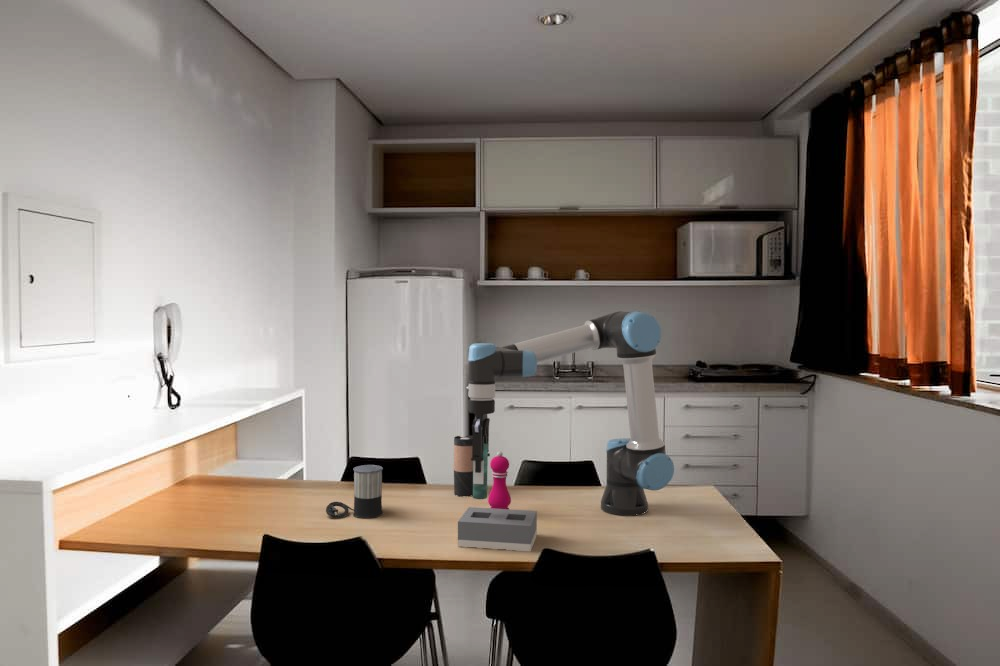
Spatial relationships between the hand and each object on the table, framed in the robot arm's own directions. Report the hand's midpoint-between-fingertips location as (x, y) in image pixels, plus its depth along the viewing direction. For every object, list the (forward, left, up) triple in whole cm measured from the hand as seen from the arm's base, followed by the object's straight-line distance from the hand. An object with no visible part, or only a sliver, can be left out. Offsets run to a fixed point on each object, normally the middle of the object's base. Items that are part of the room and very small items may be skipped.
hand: (480, 481), depth 196 cm
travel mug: (+15, -46, -17) cm, 51 cm away
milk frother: (+43, -16, -17) cm, 49 cm away
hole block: (-5, 0, -17) cm, 17 cm away
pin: (0, 0, -5) cm, 5 cm away
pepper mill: (-1, -25, -17) cm, 30 cm away
